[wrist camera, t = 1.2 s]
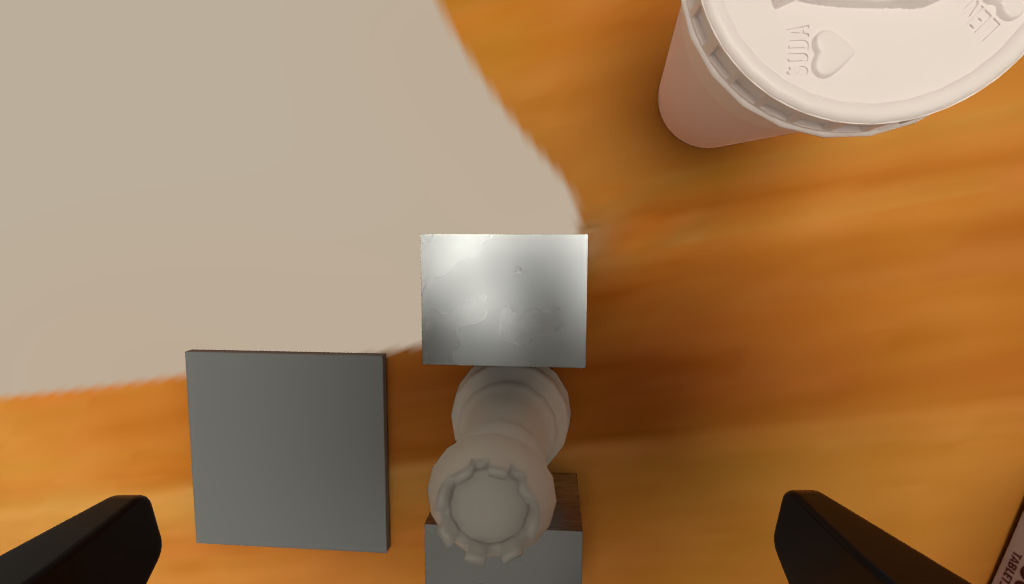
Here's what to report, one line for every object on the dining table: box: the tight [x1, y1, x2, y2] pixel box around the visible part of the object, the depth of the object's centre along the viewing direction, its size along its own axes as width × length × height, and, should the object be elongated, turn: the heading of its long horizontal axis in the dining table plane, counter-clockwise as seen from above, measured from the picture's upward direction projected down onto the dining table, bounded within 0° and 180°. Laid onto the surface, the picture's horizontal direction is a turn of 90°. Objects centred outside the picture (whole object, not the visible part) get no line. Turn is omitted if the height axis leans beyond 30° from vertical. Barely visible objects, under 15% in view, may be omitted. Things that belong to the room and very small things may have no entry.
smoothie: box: [658, 0, 1024, 148], centre depth 11 cm, size 6×6×14 cm
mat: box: [185, 350, 390, 553], centre depth 21 cm, size 8×8×1 cm
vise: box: [421, 234, 588, 584], centre depth 18 cm, size 15×5×4 cm, turn 0°
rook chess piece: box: [427, 365, 571, 567], centre depth 16 cm, size 4×4×8 cm
